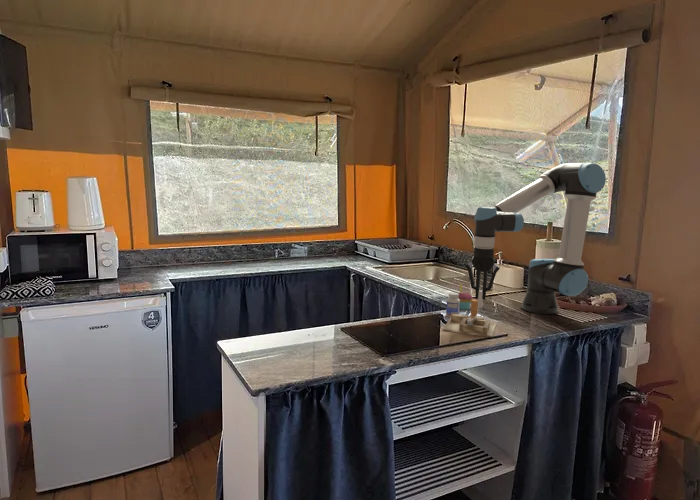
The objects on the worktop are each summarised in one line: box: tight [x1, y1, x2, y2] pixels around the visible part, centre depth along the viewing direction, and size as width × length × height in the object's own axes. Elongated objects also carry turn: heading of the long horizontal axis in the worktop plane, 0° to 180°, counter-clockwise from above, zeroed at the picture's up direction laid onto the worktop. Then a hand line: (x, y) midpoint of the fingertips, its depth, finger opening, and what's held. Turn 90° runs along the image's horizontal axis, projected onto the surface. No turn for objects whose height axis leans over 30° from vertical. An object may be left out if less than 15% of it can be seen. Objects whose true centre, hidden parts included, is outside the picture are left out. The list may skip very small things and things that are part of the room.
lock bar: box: [467, 298, 479, 326], centre depth 184 cm, size 2×14×6 cm, turn 158°
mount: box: [442, 313, 497, 338], centre depth 186 cm, size 18×16×3 cm
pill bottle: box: [445, 292, 461, 318], centre depth 201 cm, size 5×5×10 cm
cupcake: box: [457, 282, 474, 310], centre depth 214 cm, size 9×8×12 cm
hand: (479, 307), depth 189 cm, fingers closed
